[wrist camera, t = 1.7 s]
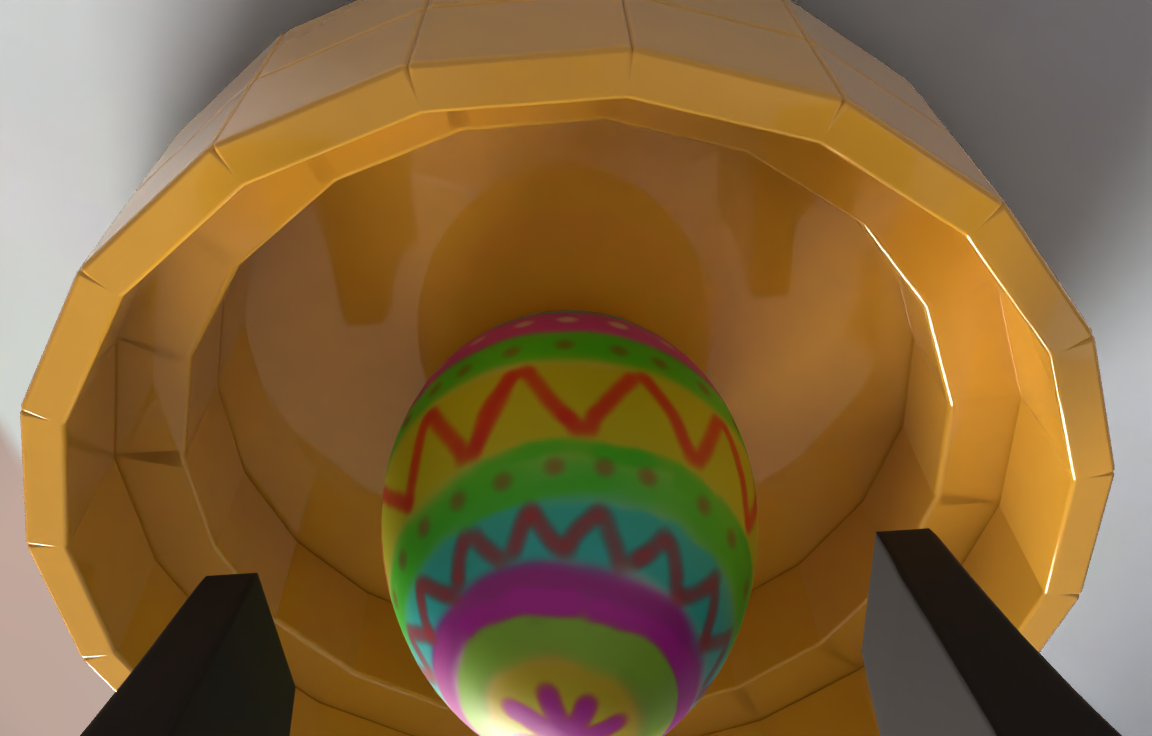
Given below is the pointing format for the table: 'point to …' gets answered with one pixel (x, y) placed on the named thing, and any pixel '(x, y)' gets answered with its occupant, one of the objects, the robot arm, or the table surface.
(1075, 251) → the table surface
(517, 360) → the egg
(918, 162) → the bowl
